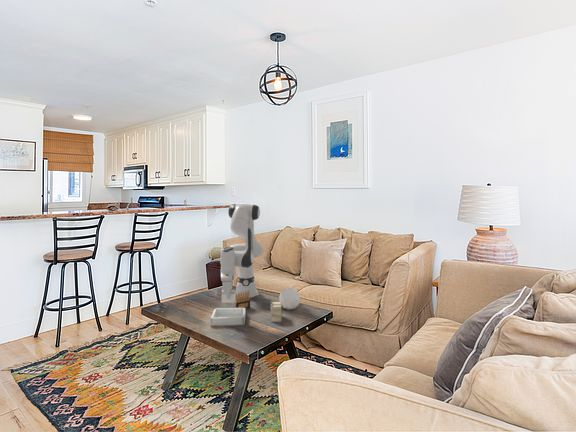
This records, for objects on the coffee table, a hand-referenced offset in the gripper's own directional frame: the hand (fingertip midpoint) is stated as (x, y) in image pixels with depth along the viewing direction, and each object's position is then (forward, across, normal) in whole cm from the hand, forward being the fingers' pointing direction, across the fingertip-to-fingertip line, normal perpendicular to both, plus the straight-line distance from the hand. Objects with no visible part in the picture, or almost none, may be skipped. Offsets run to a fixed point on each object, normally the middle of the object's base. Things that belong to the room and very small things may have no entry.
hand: (228, 297), depth 209 cm
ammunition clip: (+14, -20, +7) cm, 26 cm away
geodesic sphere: (+14, -18, +38) cm, 44 cm away
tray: (+14, 0, 0) cm, 14 cm away
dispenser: (+14, 0, +28) cm, 32 cm away
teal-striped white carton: (+3, 0, 0) cm, 3 cm away
